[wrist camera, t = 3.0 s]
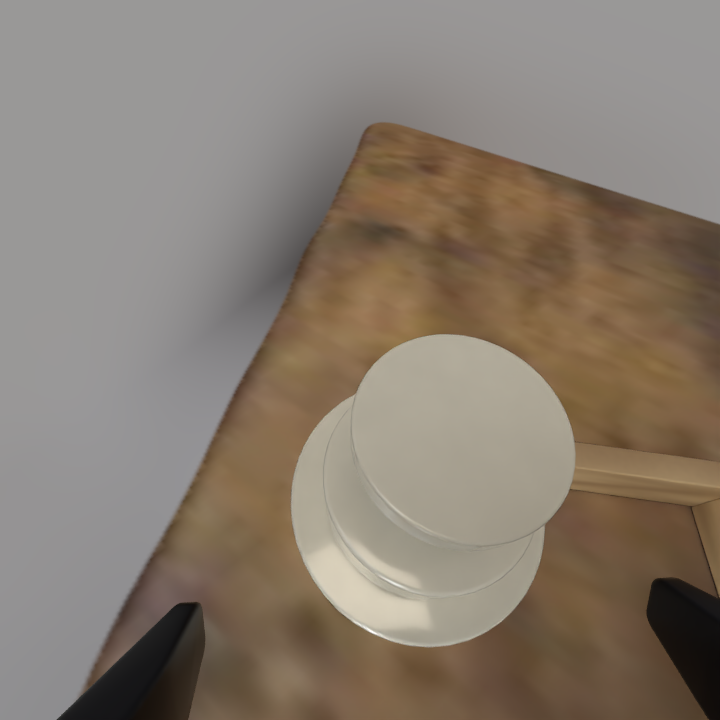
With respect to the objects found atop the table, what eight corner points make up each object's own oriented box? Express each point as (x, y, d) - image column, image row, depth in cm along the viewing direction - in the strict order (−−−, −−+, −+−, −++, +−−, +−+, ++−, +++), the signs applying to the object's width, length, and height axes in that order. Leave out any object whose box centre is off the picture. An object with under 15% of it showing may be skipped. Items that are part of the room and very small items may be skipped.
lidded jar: (452, 641, 15) (742, 716, 4) (298, 617, 15) (200, 630, 4) (452, 485, 18) (618, 300, 8) (325, 467, 19) (307, 260, 8)
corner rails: (851, 902, 12) (974, 971, 10) (483, 838, 13) (516, 891, 10) (707, 484, 19) (760, 466, 17) (473, 451, 19) (491, 429, 17)
